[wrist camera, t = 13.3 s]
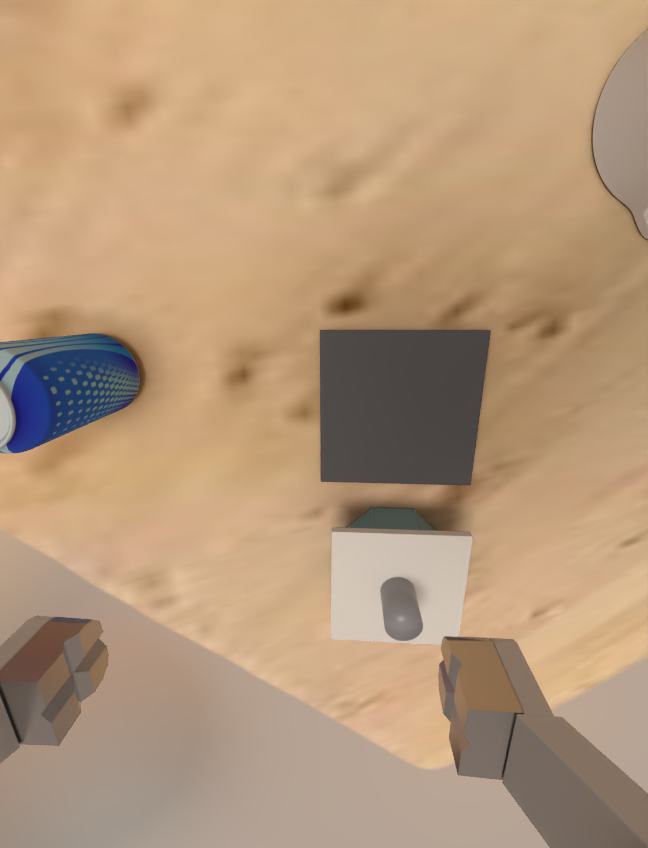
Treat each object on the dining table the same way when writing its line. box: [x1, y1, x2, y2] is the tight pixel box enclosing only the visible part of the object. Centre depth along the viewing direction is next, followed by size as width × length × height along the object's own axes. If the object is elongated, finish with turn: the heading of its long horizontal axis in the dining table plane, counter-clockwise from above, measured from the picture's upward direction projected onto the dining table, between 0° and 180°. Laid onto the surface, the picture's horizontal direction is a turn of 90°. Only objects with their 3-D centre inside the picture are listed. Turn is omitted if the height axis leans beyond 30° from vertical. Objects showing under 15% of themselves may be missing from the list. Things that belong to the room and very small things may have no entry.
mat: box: [320, 330, 491, 485], centre depth 40 cm, size 17×17×1 cm
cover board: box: [331, 527, 473, 645], centre depth 37 cm, size 14×14×5 cm
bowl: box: [347, 507, 436, 531], centre depth 42 cm, size 12×12×6 cm
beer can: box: [0, 334, 140, 453], centre depth 33 cm, size 8×8×16 cm
